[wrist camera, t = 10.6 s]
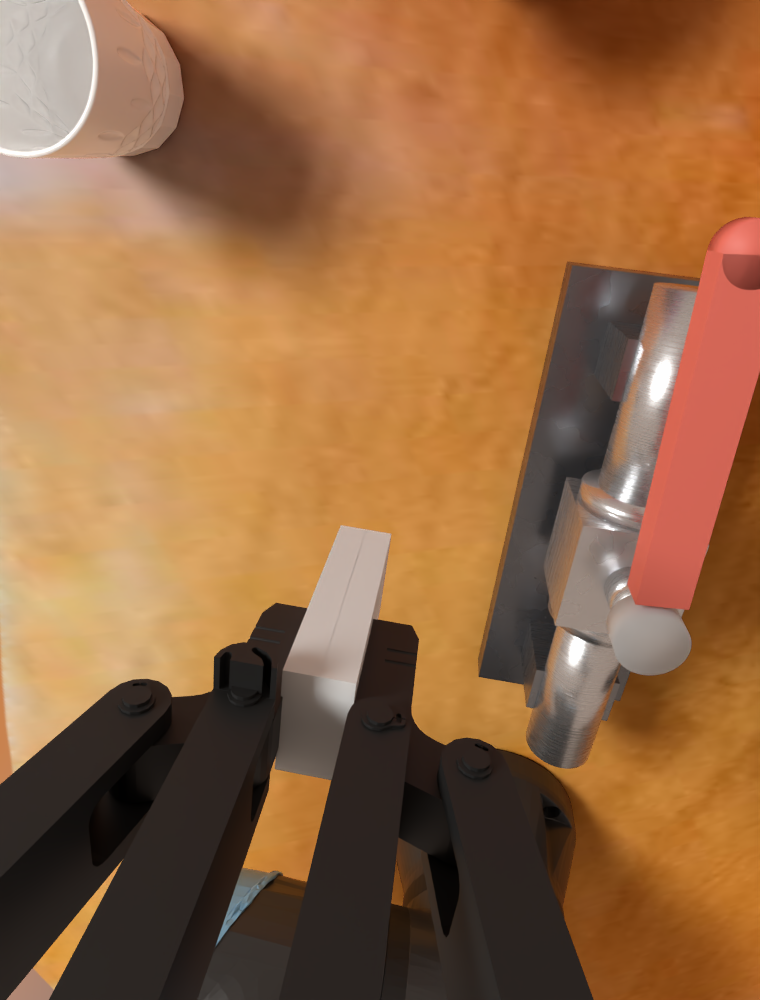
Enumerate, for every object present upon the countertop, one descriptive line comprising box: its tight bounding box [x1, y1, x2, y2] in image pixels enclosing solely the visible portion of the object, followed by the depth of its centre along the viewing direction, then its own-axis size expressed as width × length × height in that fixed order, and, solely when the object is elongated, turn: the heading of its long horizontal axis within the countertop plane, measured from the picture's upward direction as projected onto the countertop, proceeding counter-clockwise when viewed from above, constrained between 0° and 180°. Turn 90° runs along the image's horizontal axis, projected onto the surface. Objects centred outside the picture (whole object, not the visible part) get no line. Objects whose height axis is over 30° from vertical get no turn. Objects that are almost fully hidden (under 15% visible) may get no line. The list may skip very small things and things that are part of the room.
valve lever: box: [606, 217, 760, 675], centre depth 25 cm, size 19×3×2 cm, turn 178°
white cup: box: [0, 0, 184, 159], centre depth 30 cm, size 8×8×10 cm
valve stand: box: [478, 262, 709, 769], centre depth 35 cm, size 28×10×12 cm, turn 174°
